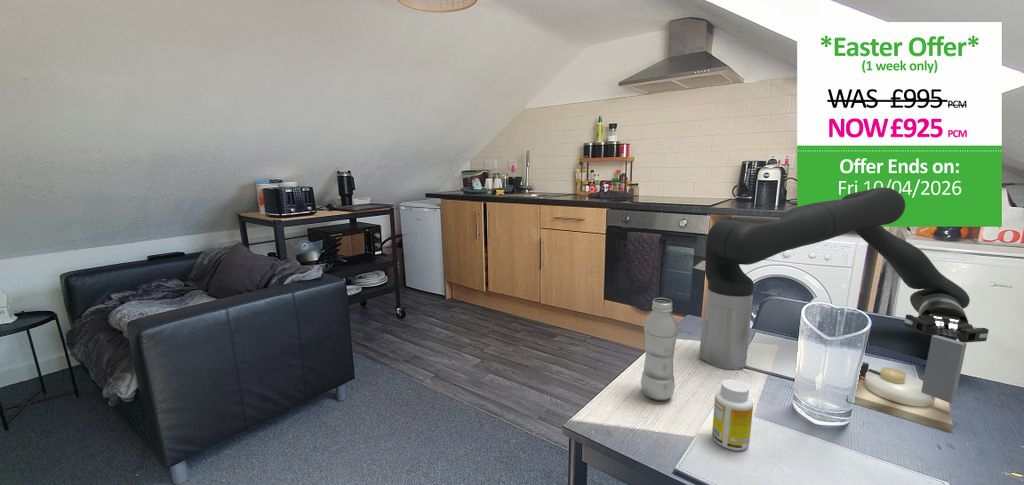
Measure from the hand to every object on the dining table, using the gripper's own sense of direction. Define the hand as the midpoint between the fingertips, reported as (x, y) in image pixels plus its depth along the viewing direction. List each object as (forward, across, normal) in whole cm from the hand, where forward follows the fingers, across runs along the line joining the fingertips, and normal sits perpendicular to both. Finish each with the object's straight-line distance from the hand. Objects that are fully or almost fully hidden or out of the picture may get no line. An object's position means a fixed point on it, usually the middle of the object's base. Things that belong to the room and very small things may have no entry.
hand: (946, 339), depth 82 cm
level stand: (+11, -6, +11) cm, 16 cm away
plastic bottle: (+41, -41, +11) cm, 59 cm away
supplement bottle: (+46, -26, +11) cm, 54 cm away
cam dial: (+11, -5, +9) cm, 15 cm away
